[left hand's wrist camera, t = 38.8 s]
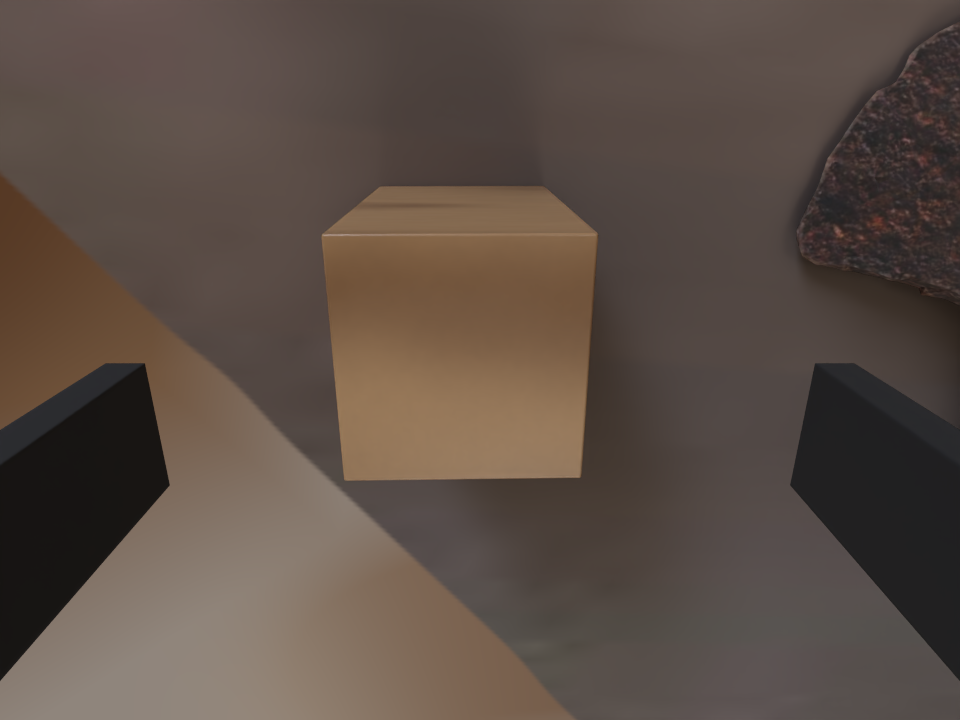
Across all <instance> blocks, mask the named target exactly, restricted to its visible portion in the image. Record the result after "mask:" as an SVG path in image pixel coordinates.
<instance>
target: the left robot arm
mask: <svg viewBox="0 0 960 720" xmlns="http://www.w3.org/2000/svg"><path fill="white" fill-rule="evenodd" d="M169 485H170V484H169V480H168V475H167V470H166V465H165V460H164V455H163V450H162V445H161V440H160V435H159V431H158V426H157V421H156V416H155V411H154V406H153V401H152V396H151V391H150V387H149V382H148V377H147V372H146V367H145V364H144V363H129V364H128V363H121V364H120V363H111V364H109V363H106V364H104V365H103V366H101V367H99V368H98V369H96V370H95V371H93V372H91V373H90V374H88V375H87V376H85V377H84V378H82V379H80V380H79V381H77V382H76V383H74V384H72V385H71V386H69V387H68V388H66V389H64V390H63V391H61V392H60V393H58V394H57V395H55V396H53V397H52V398H50V399H49V400H47V401H45V402H44V403H42V404H41V405H39V406H38V407H36V408H34V409H33V410H31V411H30V412H28V413H26V414H25V415H23V416H22V417H20V418H19V419H17V420H15V421H14V422H12V423H11V424H9V425H8V426H6V427H4V428H3V429H1V430H0V680H1V679H2V678H3V677H4V676H5V675H6V674H7V672H8V671H9V670H10V669H11V668H12V667H13V665H14V664H15V663H16V662H17V661H18V660H19V659H20V657H21V656H22V655H23V654H24V653H25V652H26V650H27V649H28V648H29V647H30V646H31V645H32V644H33V642H34V641H35V640H36V639H37V638H38V637H39V635H40V634H41V633H42V632H43V631H44V630H45V629H46V627H47V626H48V625H49V624H50V623H51V622H52V620H53V619H54V618H55V617H56V616H57V615H58V614H59V612H60V611H61V610H62V609H63V608H64V607H65V605H66V604H67V603H68V602H69V601H70V600H71V598H72V597H73V596H74V595H75V594H76V593H77V592H78V590H79V589H80V588H81V587H82V586H83V585H84V584H85V582H86V581H87V580H88V579H89V578H90V577H91V575H92V574H93V573H94V572H95V571H96V570H97V568H98V567H99V566H100V565H101V564H102V563H103V562H104V560H105V559H106V558H107V557H108V556H109V555H110V554H111V552H112V551H113V550H114V549H115V548H116V546H117V545H118V544H119V543H120V542H121V541H122V540H123V538H124V537H125V536H126V535H127V534H128V533H129V532H130V530H131V529H132V528H133V527H134V526H135V525H136V523H137V522H138V521H139V520H140V519H141V518H142V517H143V515H144V514H145V513H146V512H147V511H148V510H149V509H150V507H151V506H152V505H153V504H154V503H155V502H156V500H157V499H158V498H159V497H160V496H161V495H162V494H163V492H164V491H165V490H166V489H167V488H168V487H169ZM790 485H791V487H792V488H793V489H794V490H795V491H796V492H797V494H798V495H799V496H800V497H801V498H802V499H803V500H804V502H805V503H806V504H807V505H808V506H809V507H810V509H811V510H812V511H813V512H814V513H815V514H816V515H817V517H818V518H819V519H820V520H821V521H822V522H823V524H824V525H825V526H826V527H827V528H828V529H829V530H830V532H831V533H832V534H833V535H834V536H835V537H836V539H837V540H838V541H839V542H840V543H841V544H842V545H843V547H844V548H845V549H846V550H847V551H848V552H849V554H850V555H851V556H852V557H853V558H854V559H855V560H856V562H857V563H858V564H859V565H860V566H861V567H862V569H863V570H864V571H865V572H866V573H867V574H868V575H869V577H870V578H871V579H872V580H873V581H874V582H875V584H876V585H877V586H878V587H879V588H880V589H881V590H882V592H883V593H884V594H885V595H886V596H887V597H888V599H889V600H890V601H891V602H892V603H893V604H894V605H895V607H896V608H897V609H898V610H899V611H900V612H901V614H902V615H903V616H904V617H905V618H906V619H907V620H908V622H909V623H910V624H911V625H912V626H913V627H914V629H915V630H916V631H917V632H918V633H919V634H920V635H921V637H922V638H923V639H924V640H925V641H926V642H927V644H928V645H929V646H930V647H931V648H932V649H933V650H934V652H935V653H936V654H937V655H938V656H939V657H940V659H941V660H942V661H943V662H944V663H945V664H946V665H947V667H948V668H949V669H950V670H951V671H952V672H953V674H954V675H955V676H956V677H957V678H958V679H959V680H960V430H959V429H957V428H956V427H954V426H953V425H951V424H949V423H948V422H946V421H945V420H943V419H941V418H940V417H938V416H937V415H935V414H934V413H932V412H930V411H929V410H927V409H926V408H924V407H922V406H921V405H919V404H918V403H916V402H915V401H913V400H911V399H910V398H908V397H907V396H905V395H903V394H902V393H900V392H899V391H897V390H896V389H894V388H892V387H891V386H889V385H888V384H886V383H884V382H883V381H881V380H880V379H878V378H877V377H875V376H873V375H872V374H870V373H869V372H867V371H865V370H864V369H862V368H861V367H859V366H858V365H856V364H854V363H815V367H814V372H813V377H812V382H811V387H810V391H809V396H808V401H807V406H806V411H805V416H804V421H803V426H802V431H801V435H800V440H799V445H798V450H797V455H796V460H795V465H794V470H793V475H792V479H791V484H790Z"/></svg>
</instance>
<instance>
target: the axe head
mask: <svg viewBox="0 0 960 720" xmlns="http://www.w3.org/2000/svg"><path fill="white" fill-rule="evenodd" d="M796 239H797V242H798V245H799V248H800V251H801V254H802V256H803V257H804V258H806V259H808V260H809V261H811V262H812V263H814V264H816V265H823V266H829V267H833V268H836V269H840V270H844V271H855V272H859V273H863V274H867V275H871V276H875V277H880V278H883V279H887V280H890V281H898V282H901V283H905V284H908V285H912V286H915V287H918V288H919V290H920V293H921V295H927V296H931V297H937V298H943V299H946V300H948V301H950V302H953V303H955V304H957V305H959V306H960V22H958V23H956V24H954V25H952V26H950V27H947V28H945V29H943V30H941V31H939V32H938V33H936V34H935V35H933V36H932V37H930V38H929V39H927V40H926V41H924V42H923V43H921V44H920V45H918V46H917V47H916V49H915V50H914V51H913V52H912V53H911V54H910V56H909V58H908V60H907V63H906V65H905V68H904V70H903V71H902V73H901V74H900V76H899V78H898V79H897V81H896V82H895V83H893V84H891V85H889V86H888V87H885V88H883V89H880V90H878V91H877V92H876V93H875V94H874V95H873V96H872V97H871V98H870V100H869V101H868V102H867V103H866V104H865V106H864V107H863V108H862V110H861V111H860V112H859V114H858V115H857V117H856V118H855V119H854V121H853V122H852V124H851V125H850V127H849V128H848V130H847V131H846V133H845V134H844V136H843V137H842V139H841V141H840V142H839V143H838V145H837V146H836V147H835V149H834V150H833V152H832V153H831V154H830V156H829V157H828V159H827V162H826V165H825V168H824V171H823V173H822V176H821V179H820V182H819V185H818V187H817V190H816V191H815V193H814V195H813V197H812V199H811V201H810V203H809V205H808V207H807V209H806V211H805V213H804V215H803V217H802V219H801V221H800V223H799V226H798V228H797V232H796Z"/></svg>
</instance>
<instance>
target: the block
mask: <svg viewBox="0 0 960 720" xmlns="http://www.w3.org/2000/svg"><path fill="white" fill-rule="evenodd" d="M321 237H322V248H323V259H324V269H325V280H326V291H327V301H328V312H329V323H330V334H331V344H332V355H333V366H334V376H335V387H336V398H337V408H338V419H339V430H340V441H341V451H342V462H343V473H344V479H345V480H346V481H353V480H433V479H514V478H580V477H581V475H582V461H583V446H584V432H585V418H586V403H587V389H588V375H589V360H590V346H591V332H592V317H593V303H594V289H595V274H596V260H597V246H598V233H597V232H595V231H594V230H593V229H592V228H591V227H590V226H589V225H587V224H586V223H585V222H584V221H583V220H582V219H581V218H580V217H578V216H577V215H576V214H575V213H574V212H573V211H572V210H570V209H569V208H568V207H567V206H566V205H565V204H564V203H562V202H561V201H560V200H559V199H558V198H557V197H556V196H554V195H553V194H552V193H551V192H550V191H549V190H548V189H546V188H545V187H544V186H381V187H379V188H378V189H377V190H375V191H374V192H373V193H372V194H370V195H369V196H368V197H367V198H366V199H364V200H363V201H362V202H361V203H360V204H358V205H357V206H356V207H355V208H353V209H352V210H351V211H350V212H349V213H347V214H346V215H345V216H344V217H343V218H341V219H340V220H339V221H338V222H337V223H335V224H334V225H333V226H332V227H330V228H329V229H328V230H327V231H326V232H324V233H323V234H322V236H321Z"/></svg>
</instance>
